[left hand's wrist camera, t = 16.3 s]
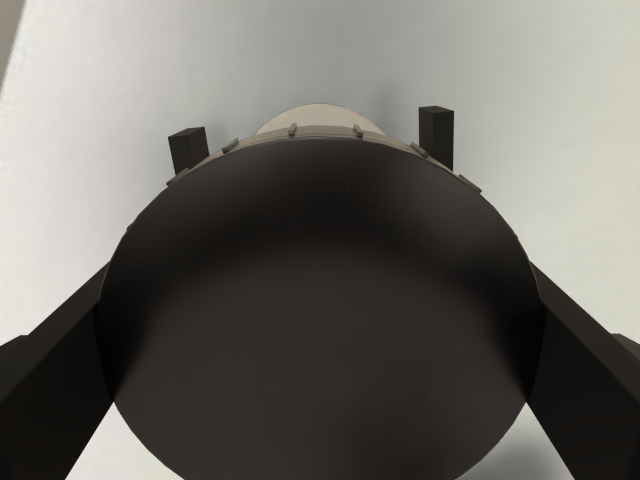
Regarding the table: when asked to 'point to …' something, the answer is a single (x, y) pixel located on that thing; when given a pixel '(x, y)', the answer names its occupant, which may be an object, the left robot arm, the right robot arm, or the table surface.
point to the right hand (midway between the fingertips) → (310, 120)
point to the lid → (319, 314)
